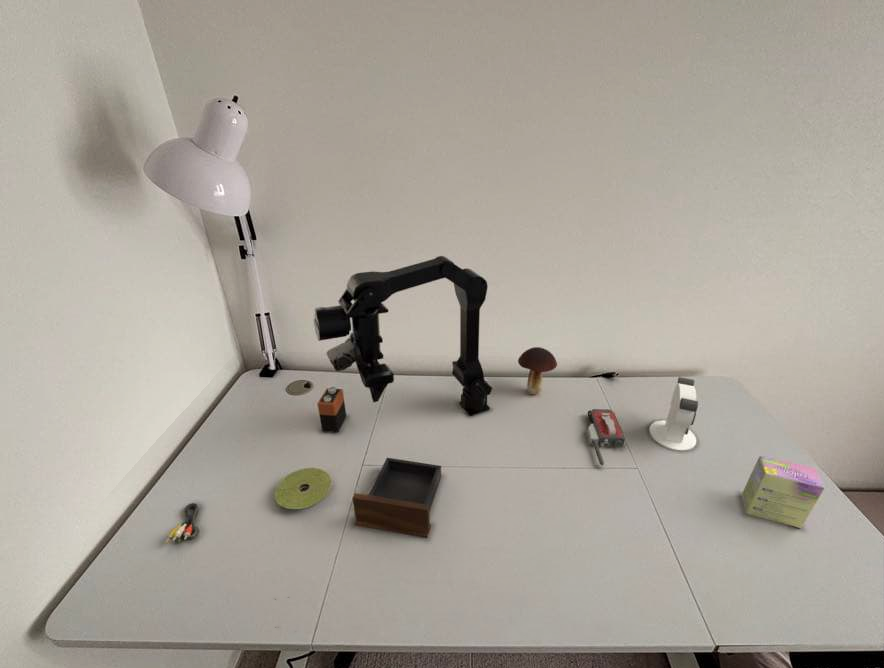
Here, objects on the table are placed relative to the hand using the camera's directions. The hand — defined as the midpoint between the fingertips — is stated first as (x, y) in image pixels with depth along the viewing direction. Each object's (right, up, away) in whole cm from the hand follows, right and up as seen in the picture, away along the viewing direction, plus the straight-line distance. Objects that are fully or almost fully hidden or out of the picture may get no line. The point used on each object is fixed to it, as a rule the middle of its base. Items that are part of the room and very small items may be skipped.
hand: (369, 390), depth 102 cm
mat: (-12, -21, -9) cm, 26 cm away
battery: (-12, -10, +11) cm, 19 cm away
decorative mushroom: (+42, -4, +26) cm, 50 cm away
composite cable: (-31, -25, -17) cm, 43 cm away
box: (+88, -25, -9) cm, 92 cm away
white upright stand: (+76, -13, +11) cm, 78 cm away
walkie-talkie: (+58, -14, +9) cm, 60 cm away
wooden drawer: (+10, -22, -10) cm, 26 cm away
